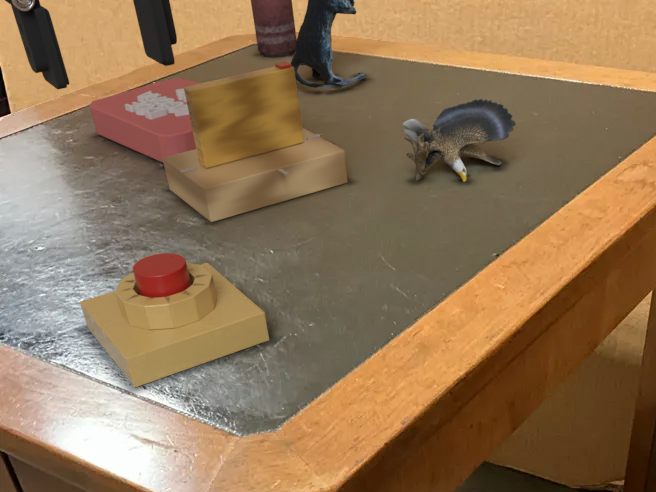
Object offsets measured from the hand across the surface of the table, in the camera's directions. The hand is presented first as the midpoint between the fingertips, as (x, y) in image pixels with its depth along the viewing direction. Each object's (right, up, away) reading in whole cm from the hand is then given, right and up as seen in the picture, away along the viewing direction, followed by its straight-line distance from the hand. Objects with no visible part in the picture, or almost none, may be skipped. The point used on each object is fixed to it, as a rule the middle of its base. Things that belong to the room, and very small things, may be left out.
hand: (109, 68), depth 53 cm
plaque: (-6, +16, +45) cm, 48 cm away
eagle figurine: (+22, +7, +32) cm, 39 cm away
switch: (+1, -13, +12) cm, 18 cm away
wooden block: (+3, +8, +30) cm, 31 cm away
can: (0, +38, +68) cm, 78 cm away
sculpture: (+9, +27, +56) cm, 63 cm away
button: (+1, -10, +9) cm, 14 cm away
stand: (+3, +6, +32) cm, 33 cm away
